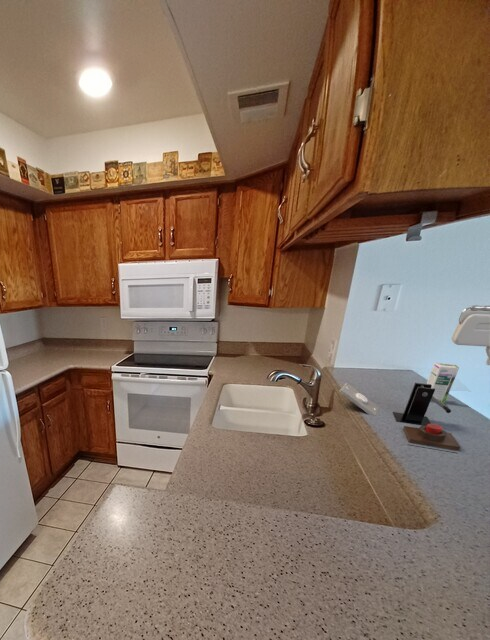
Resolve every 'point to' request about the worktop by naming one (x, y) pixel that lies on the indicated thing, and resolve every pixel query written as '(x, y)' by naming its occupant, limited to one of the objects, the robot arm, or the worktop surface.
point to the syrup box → (442, 379)
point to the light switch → (359, 400)
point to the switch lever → (439, 403)
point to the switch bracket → (417, 406)
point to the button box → (431, 438)
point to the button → (434, 428)
